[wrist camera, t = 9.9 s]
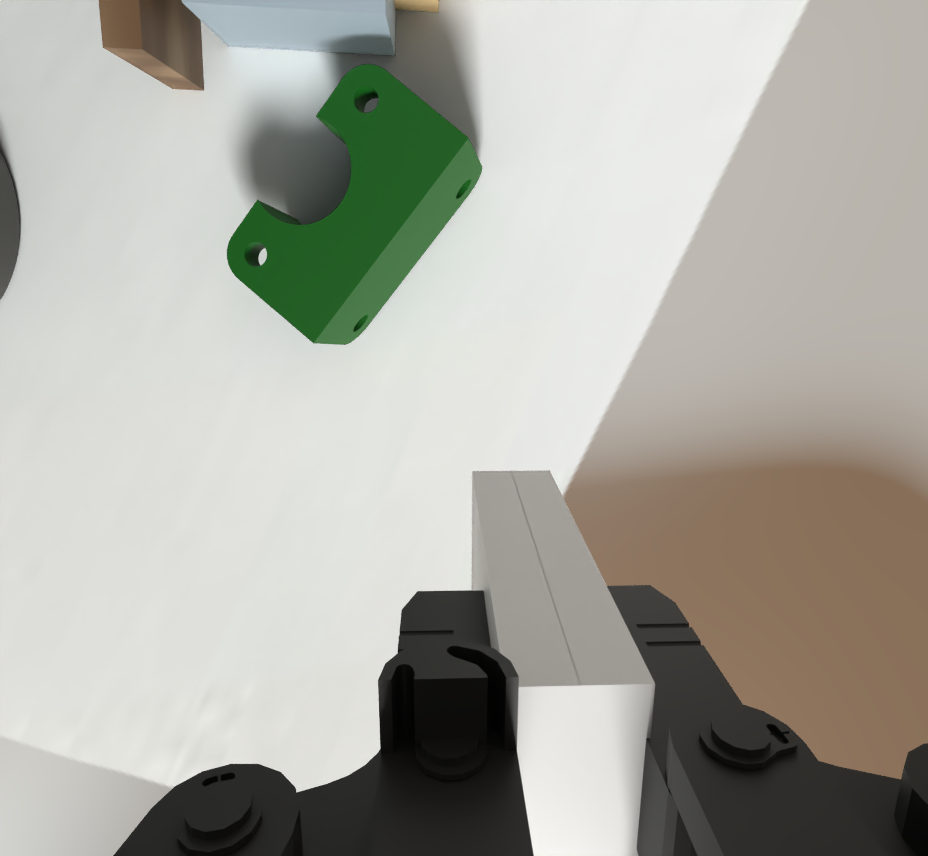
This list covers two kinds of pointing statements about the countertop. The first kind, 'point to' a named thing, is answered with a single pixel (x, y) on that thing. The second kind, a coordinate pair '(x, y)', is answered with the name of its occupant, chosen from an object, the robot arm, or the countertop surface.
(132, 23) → the wall
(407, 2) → the tan rectangular bar
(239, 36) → the block
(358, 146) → the clamp
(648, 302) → the countertop surface
